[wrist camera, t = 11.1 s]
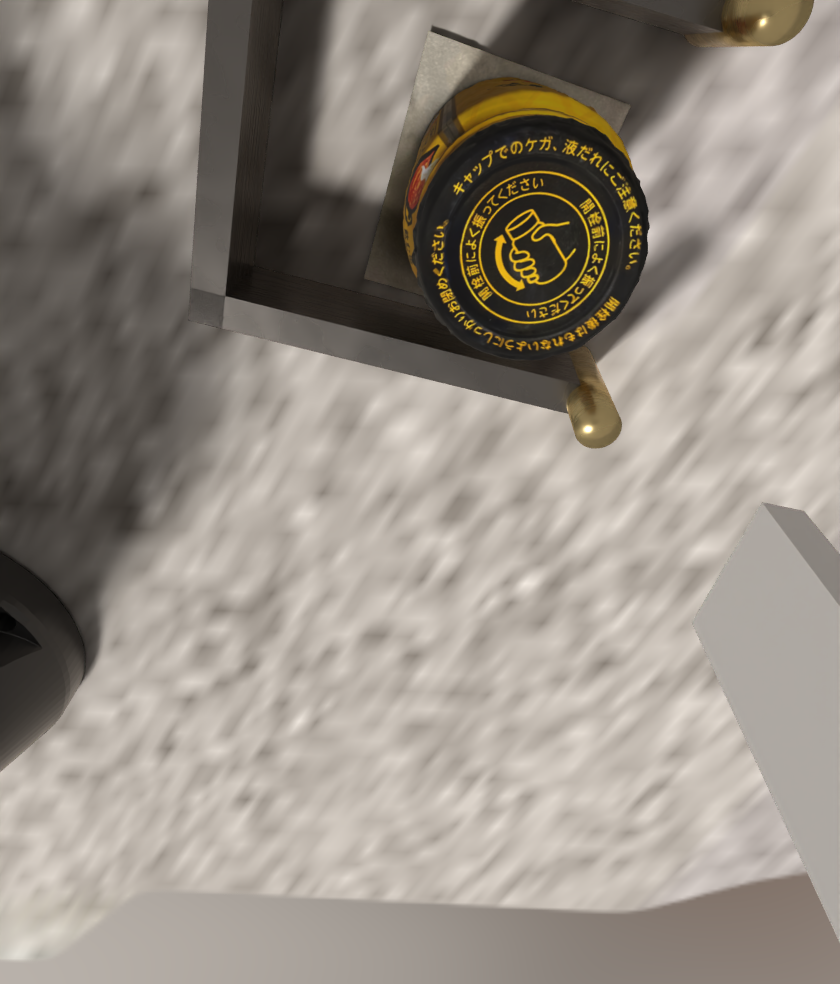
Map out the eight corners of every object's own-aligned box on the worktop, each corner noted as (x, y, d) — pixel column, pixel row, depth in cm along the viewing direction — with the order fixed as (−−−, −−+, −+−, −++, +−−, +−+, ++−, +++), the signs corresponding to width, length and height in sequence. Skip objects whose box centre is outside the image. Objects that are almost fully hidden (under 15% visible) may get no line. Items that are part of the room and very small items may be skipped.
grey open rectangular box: (220, 292, 28) (168, 345, 23) (259, -156, 21) (195, -223, 16) (584, 383, 29) (610, 453, 24) (741, -5, 22) (826, -22, 17)
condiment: (629, 104, 24) (758, 142, 14) (536, 330, 28) (581, 485, 18) (428, 30, 23) (406, 13, 13) (364, 276, 27) (311, 406, 17)
